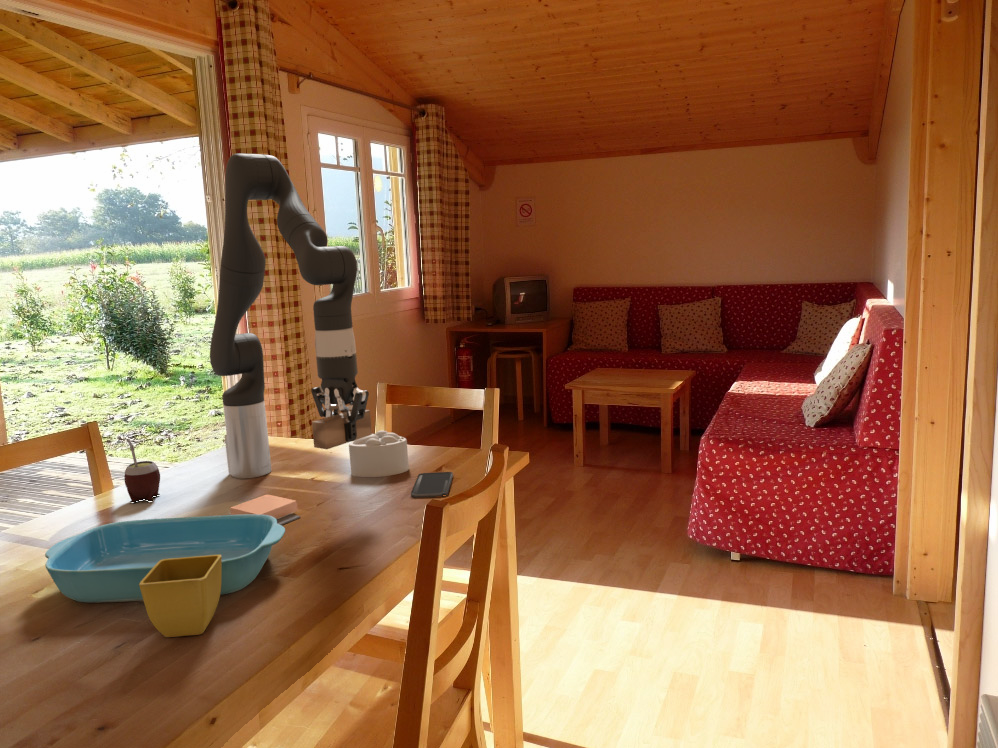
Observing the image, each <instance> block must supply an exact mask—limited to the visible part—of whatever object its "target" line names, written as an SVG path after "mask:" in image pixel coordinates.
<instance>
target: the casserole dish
mask: <svg viewBox="0 0 998 748" xmlns="http://www.w3.org/2000/svg"><path fill="white" fill-rule="evenodd" d="M285 533H286V528H285V527H284V526H283V525H279V524H277V520H276V518H274V517H272V516H269V515H259V514H243V515H229V514H224V515H223V514H222V515H204V516H203V515H201V516H186V517H165V518H163V517H162V518H146V519H145V518H144V519H134V520H124V521H123V520H121V521H116V522H115V521H114V522H111V523H106V524H102V525H98V526H96V527H92V528H90V529H88V530H85V531H83V532H81V533H79V534H76V535H73V536H70V537H67V538H65V539H63V540H60V541H59V542H57V543H55V544H54V545H52V546H51V547H50V548H48V549H47V551H45V553H44V557H45V558H46V559H47V560H46V562H45V569H46V570H47V573H48V574H49V575H50V578H51V579H52V581H53V583H54V584H55V586H56V587H57V589H58V590H59V591H60V593H62V595H64V596H65V597H66V598H69V599H71V600H74V601H75V602H78V603H79V602H80V603H97V604H98V603H118V602H119V603H121V602H122V603H123V602H138V601H144V600H143V597H142V593H141V590H140V586H139V584H140V582H141V581H142V579H143V578H144V577H145V576H146V575H147V574H148V573H149V572H150V570H151V569H152V568H153V567H154V566H155V565H156V564H157V563H158V562H159V561H160V560H162V559H171V558H183V557H196V556H207V555H221V556H222V569H221V593H220V596H221V595H227V594H233V593H235V592H238V591H241V590H243V589H245V588H246V587H248V585H249V584H251V583H252V582H253V581H254V580H255V579H256V578H257V576H258V575H259V573H260V572H261V570H262V569H263V566H264V564H265V563H266V562H267V560H268V558H269V556H270V553H271V550H272V547H273V546H275V545H277V544H278V543H279V542H280V541H281V540H282V538H283V537H284V535H285Z"/></svg>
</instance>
